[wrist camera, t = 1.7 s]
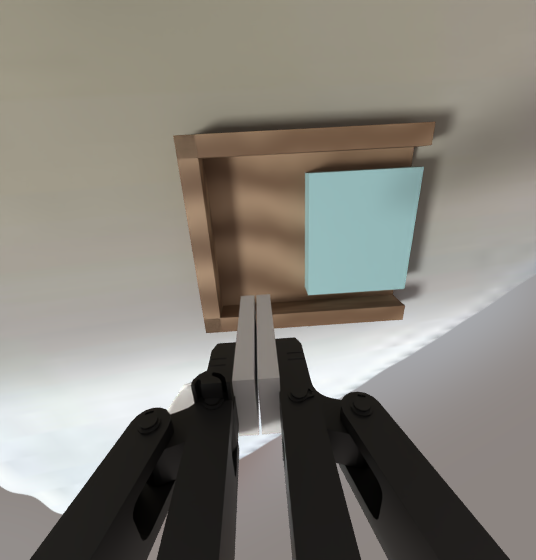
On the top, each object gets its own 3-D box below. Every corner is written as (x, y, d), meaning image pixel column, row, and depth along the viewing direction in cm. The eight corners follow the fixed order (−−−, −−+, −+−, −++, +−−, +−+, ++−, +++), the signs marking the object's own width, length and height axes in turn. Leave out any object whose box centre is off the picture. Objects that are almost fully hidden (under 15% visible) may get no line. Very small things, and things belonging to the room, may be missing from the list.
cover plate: (305, 172, 30) (309, 173, 28) (411, 166, 30) (424, 166, 28) (304, 286, 36) (308, 295, 33) (394, 280, 36) (404, 288, 34)
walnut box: (183, 139, 29) (173, 135, 25) (413, 127, 30) (435, 121, 26) (210, 316, 38) (206, 333, 34) (388, 304, 38) (402, 319, 35)
